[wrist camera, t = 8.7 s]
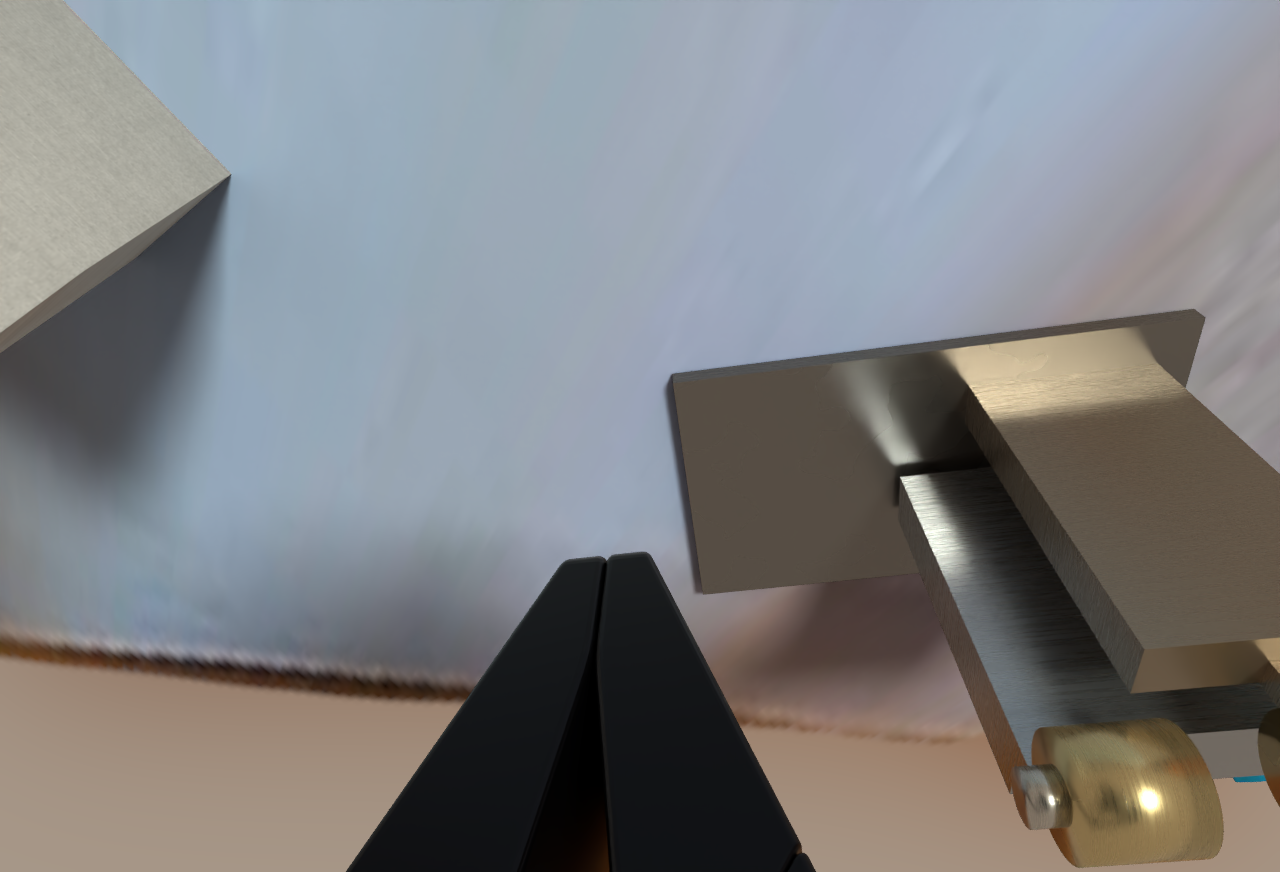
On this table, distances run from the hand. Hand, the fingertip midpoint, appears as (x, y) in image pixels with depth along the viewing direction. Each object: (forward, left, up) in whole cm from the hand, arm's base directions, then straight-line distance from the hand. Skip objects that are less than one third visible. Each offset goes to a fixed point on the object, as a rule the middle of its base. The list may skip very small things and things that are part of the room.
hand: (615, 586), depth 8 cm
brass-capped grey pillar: (+13, -1, -13) cm, 18 cm away
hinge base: (+11, -2, -13) cm, 17 cm away
